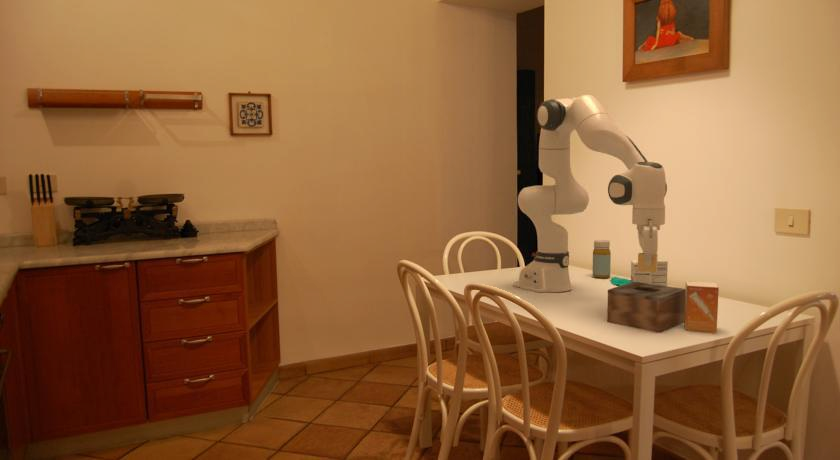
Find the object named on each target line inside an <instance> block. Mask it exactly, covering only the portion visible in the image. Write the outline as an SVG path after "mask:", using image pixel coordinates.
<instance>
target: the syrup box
mask: <svg viewBox="0 0 840 460" xmlns="http://www.w3.org/2000/svg"><path fill="white" fill-rule="evenodd" d="M630 264H631V265H630V280H631V283H632V282H641V283H648V284H651V272H648V271H638V259H634V260H633V259H632V260H631V261H630Z"/></svg>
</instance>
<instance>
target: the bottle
mask: <svg viewBox="0 0 840 460" xmlns="http://www.w3.org/2000/svg"><path fill="white" fill-rule="evenodd" d="M610 241H611V240H606V239H596V240H594V241H593V250H592V277H594V278H596V279H608V278H610V276H611V257H612V256H611V250H610V249H611V247H610V245H611V243H610Z"/></svg>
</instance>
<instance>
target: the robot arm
mask: <svg viewBox="0 0 840 460" xmlns="http://www.w3.org/2000/svg"><path fill="white" fill-rule="evenodd" d="M536 119H537V120H536V121H537V123H538V125H539V127H540V134H539V142H538V168H539V170H540V172H541V173H542V174H544V175H546V176H548V177H550V178H552V179H553V180H554V184H553V185H551V184H550V185H547V184H546V185H532V186H527V187H523V188H522V189H521V190H520V191H519V194H518V196H517V203H518V204H517V205H518V207H519V209H520V211H521V212H522V213H523V214H525V215H526V216H527V217H528V218H529V219H530V220H531V221H532V223H533V225H534V227H535V231H536V237H537V238H536V239H537V250H536V251H534V252H532V253H531V254H532V255H531V257H533V260H532V261H531V262H530V263H528V264H527V265H526V266H524V267H523V268H522V269H521V270H520V273H519V277H518V280H517V281H515V282H513V284H512V286H513V287H516V286H517V287H516V288H519V287H520V289H523V290H528V291H530V292H535V293H562V292H568V291H571V290H573V287H572V283H571V278H570V272H569V265H570V252H569V247H568V246H569V232H568V231H567V229H566V228H565V227H564V226H562V225H560V224H559V223H556V222H554V221H553V220H552V216H553V215H557V216H559V215H576V214H578V213H579V214H580V213H583V212H584V211H585V210H586V209H587V207H588V206H589V201H590V200H589V199H590V198H589V193H588V192H587V190H586V189H585V187H583V186H582V185H581V184H580V183H579V182H578V181H577V180H576V179H575V177H574V175H573V173H572V169H571V134H572V132H573V131H576V132H577V135H578V137H579V138H580V141H581V142H582V143H583V144H584V145H585V146H586V147H587V149H589V150H591V151H594V152H597V153H598V152H599V153H601V154H606V155H609V156H612V157H614V158H616V159H618V160H619V161H621V162H622V163H623V164H624V165H625V167H626V168H627V171H625V172H621V173H619V174H615V175H614V176H613V177H612V178H611V179H610V180H609V182H608V184H607V185H608V186H607V194H608V197H609V199H610V200H611V202H612V203H613V204H615V205H618V206H632V212H631V213H632V215H631V216H632V218H631V219H632V220H631V221H632V222H631V223H632V225H636V230H637V238H638V242H639V246H640V248H641V251H642V253H644V254H645V266H646V267H651V266H652V256H653V254H657V255H658V245H659V244H658V243H659V242H658V240H659V239H658V235H659V234H658V233H659V232H658V231H659V230H661V226H662V225H665V224H666V205H665V198H666V195H667V191H668V185H667V182H666V172H665V169H664V166H663V165H662V164H661V163H658V162H655V161H648V160H647V158H646V157H645V156H644V154H643V153H642V152H641V151H640V149H639V148H638V146H637V145H636V144H635V143H634V141H633V140H632V139H631V137H629V136H628V135H626V134H625V133H624V132H622V130H621V129H620V128H619V127H618V126H617V125H616V124H615V122H614V121H613V120H612V118H611V116H610V115H609V114H608V112H607V110H606V109H605V107H604V106H603V105H602V103H601V102H600V101H599V100H598V99H597V98H596V97H595V96H593V95H592V94H582V95H579V96H578V97H565V98H558V99H553V98H552V99H547V100H544V101H542V102H541V103H540V105H539V106H538V109H537V111H536Z"/></svg>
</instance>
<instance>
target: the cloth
mask: <svg viewBox="0 0 840 460" xmlns="http://www.w3.org/2000/svg"><path fill="white" fill-rule="evenodd" d="M609 282H610V283H611V285H614V286H622V285H625V284H628V283H631V279H628V278H623V277H618V276H613V277H611V278H610V280H609Z"/></svg>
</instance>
